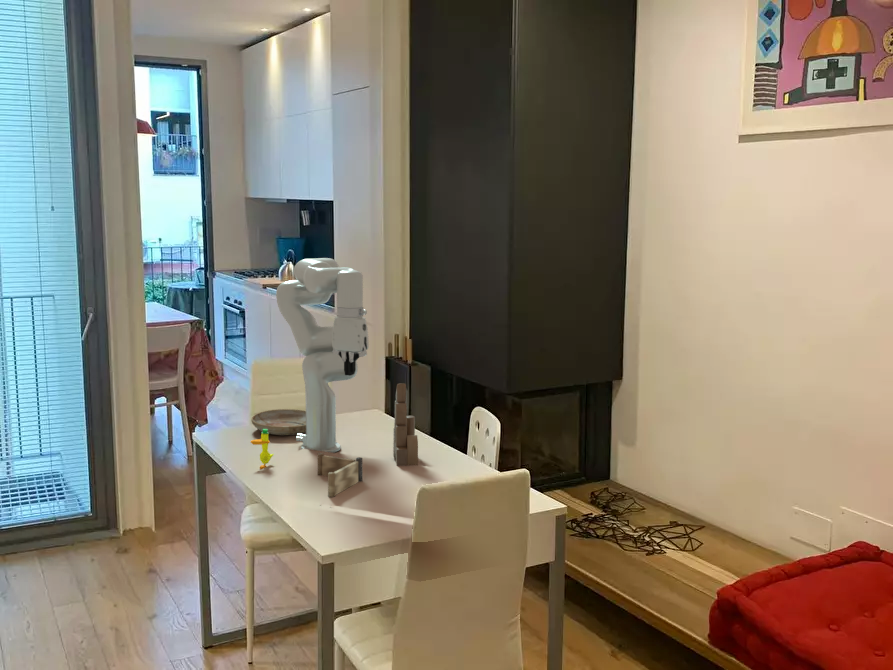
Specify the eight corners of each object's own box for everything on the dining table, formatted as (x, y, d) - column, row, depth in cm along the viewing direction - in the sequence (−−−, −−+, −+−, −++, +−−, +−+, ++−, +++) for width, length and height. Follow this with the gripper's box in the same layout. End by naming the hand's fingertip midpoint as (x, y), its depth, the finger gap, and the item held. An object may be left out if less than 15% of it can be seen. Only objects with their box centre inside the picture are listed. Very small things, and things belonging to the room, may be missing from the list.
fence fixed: (316, 475, 253) (316, 453, 252) (319, 473, 254) (319, 451, 253) (360, 482, 247) (360, 459, 246) (363, 480, 249) (363, 457, 248)
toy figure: (250, 470, 260) (250, 431, 258) (251, 466, 263) (250, 427, 261) (274, 469, 261) (273, 430, 259) (274, 465, 264) (273, 427, 262)
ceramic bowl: (259, 443, 287) (259, 428, 286) (245, 425, 309) (245, 411, 308) (327, 436, 296) (327, 422, 296) (309, 419, 318) (309, 406, 317)
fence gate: (354, 481, 248) (354, 459, 247) (359, 482, 247) (359, 460, 246) (326, 496, 235) (326, 473, 234) (332, 497, 234) (332, 474, 233)
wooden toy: (418, 469, 263) (420, 388, 259) (396, 470, 263) (397, 388, 258) (413, 454, 279) (415, 377, 274) (392, 454, 278) (393, 377, 274)
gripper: (378, 313, 255) (378, 374, 258) (333, 309, 261) (333, 369, 264) (366, 316, 248) (366, 379, 251) (320, 312, 254) (321, 374, 257)
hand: (349, 374), depth 257 cm, fingers closed
